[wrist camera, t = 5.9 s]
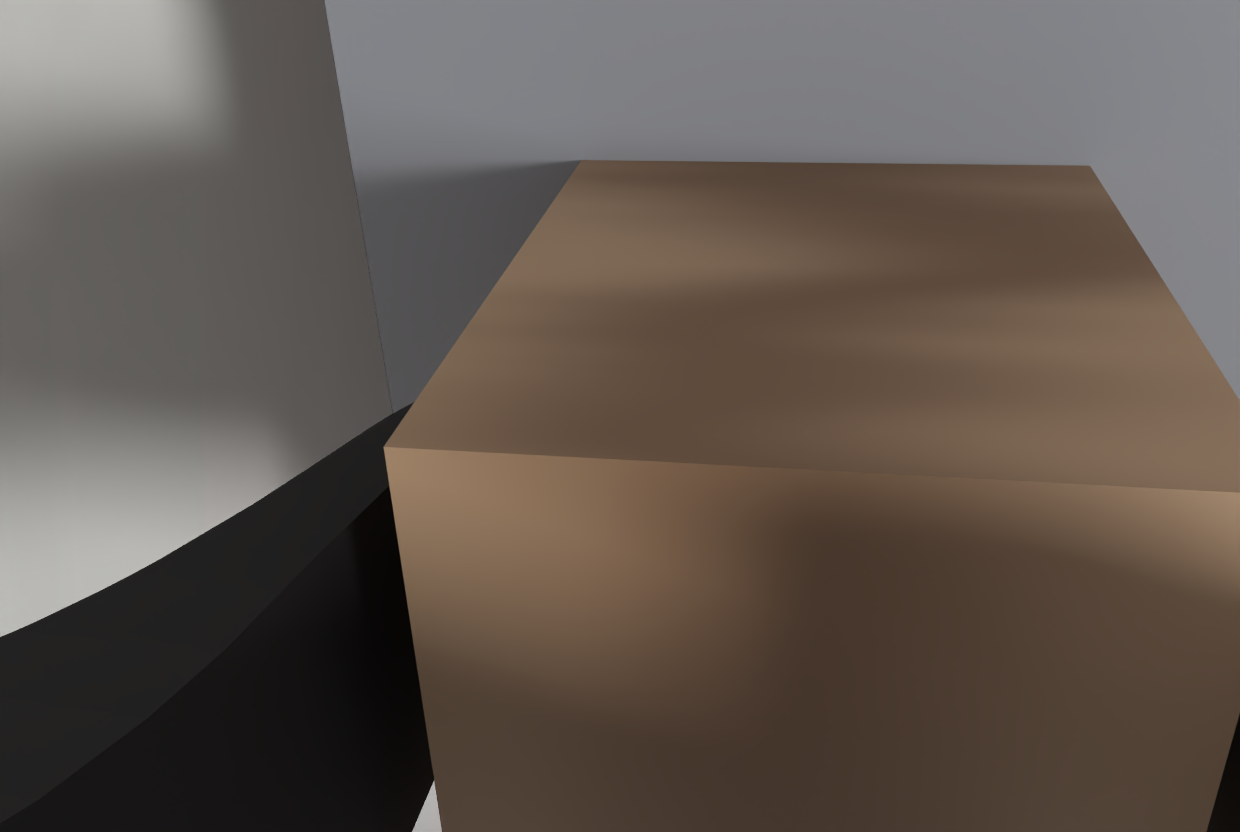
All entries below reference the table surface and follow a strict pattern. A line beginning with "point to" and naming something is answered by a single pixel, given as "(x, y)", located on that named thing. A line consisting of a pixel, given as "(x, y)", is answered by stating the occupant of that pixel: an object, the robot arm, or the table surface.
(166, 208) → the table surface
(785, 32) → the gray rectangular slab
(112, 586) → the robot arm
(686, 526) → the walnut block
